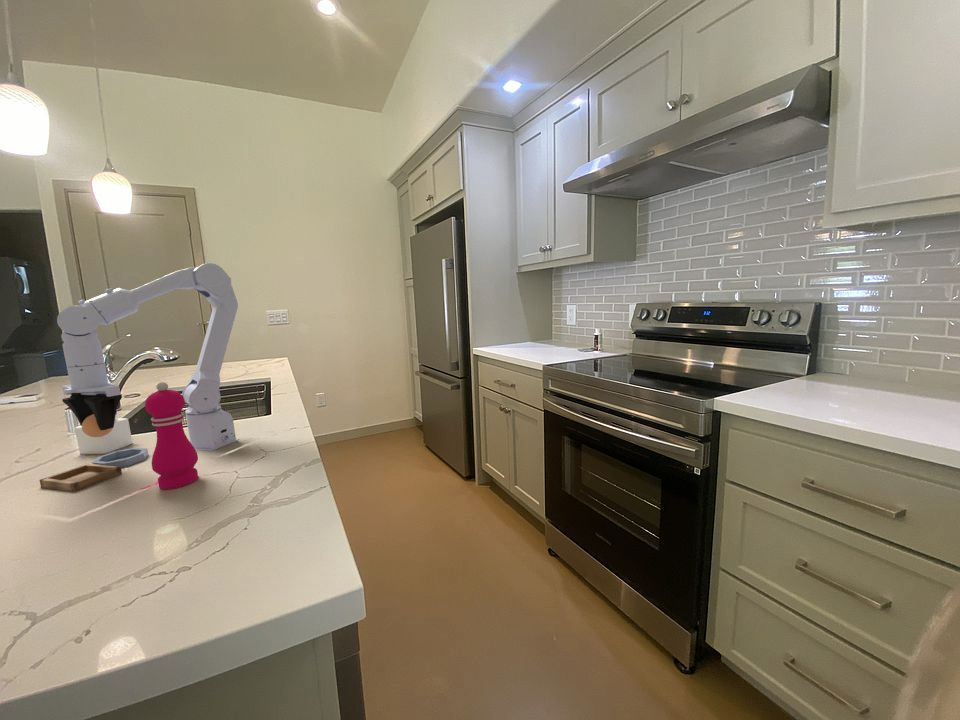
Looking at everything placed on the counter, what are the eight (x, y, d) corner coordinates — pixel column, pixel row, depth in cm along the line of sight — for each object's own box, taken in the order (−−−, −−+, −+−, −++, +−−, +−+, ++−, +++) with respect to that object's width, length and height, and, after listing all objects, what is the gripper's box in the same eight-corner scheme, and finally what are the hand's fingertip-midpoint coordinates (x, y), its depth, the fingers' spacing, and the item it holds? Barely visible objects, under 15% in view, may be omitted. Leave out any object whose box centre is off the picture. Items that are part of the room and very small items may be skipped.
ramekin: (156, 457, 95) (155, 449, 95) (113, 473, 87) (111, 464, 86) (130, 455, 98) (128, 447, 97) (85, 470, 89) (84, 461, 89)
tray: (122, 475, 85) (120, 466, 85) (75, 494, 78) (72, 484, 77) (90, 472, 88) (88, 463, 88) (41, 489, 81) (39, 479, 80)
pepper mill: (177, 491, 76) (158, 386, 73) (145, 490, 78) (126, 386, 75) (210, 475, 83) (194, 378, 80) (180, 473, 85) (163, 378, 82)
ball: (121, 433, 89) (117, 411, 88) (94, 441, 84) (89, 418, 83) (105, 432, 90) (101, 410, 90) (77, 439, 86) (73, 416, 85)
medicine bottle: (133, 444, 105) (125, 399, 104) (106, 455, 98) (96, 406, 97) (108, 445, 106) (99, 400, 104) (79, 455, 99) (69, 407, 97)
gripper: (39, 368, 84) (52, 432, 85) (85, 368, 79) (98, 436, 81) (81, 362, 90) (93, 422, 92) (126, 362, 86) (137, 425, 88)
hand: (98, 428), depth 87 cm, fingers closed on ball, 5 cm apart
